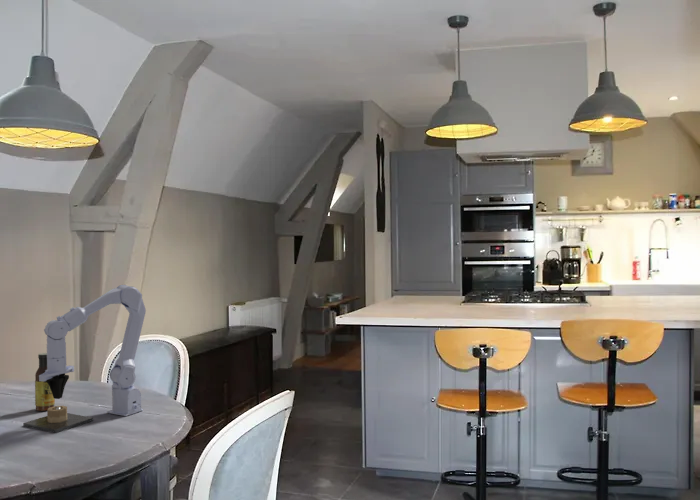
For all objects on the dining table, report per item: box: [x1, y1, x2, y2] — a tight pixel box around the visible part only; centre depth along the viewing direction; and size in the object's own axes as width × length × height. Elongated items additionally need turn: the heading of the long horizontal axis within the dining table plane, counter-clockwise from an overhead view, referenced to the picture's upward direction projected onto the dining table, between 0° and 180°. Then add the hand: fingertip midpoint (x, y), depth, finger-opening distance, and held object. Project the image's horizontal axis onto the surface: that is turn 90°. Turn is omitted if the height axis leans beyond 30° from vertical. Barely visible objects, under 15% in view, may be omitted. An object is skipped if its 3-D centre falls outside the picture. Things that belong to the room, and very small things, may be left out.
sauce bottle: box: [34, 352, 56, 412], centre depth 224 cm, size 6×6×20 cm
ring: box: [46, 405, 68, 423], centre depth 207 cm, size 6×6×4 cm
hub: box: [22, 407, 94, 434], centre depth 207 cm, size 16×14×5 cm
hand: (57, 398), depth 207 cm, fingers closed
